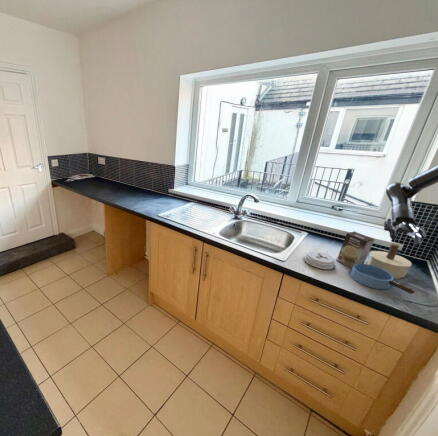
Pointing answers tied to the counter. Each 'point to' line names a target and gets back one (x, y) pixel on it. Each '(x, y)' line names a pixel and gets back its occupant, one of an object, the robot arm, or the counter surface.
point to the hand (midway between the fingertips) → (405, 241)
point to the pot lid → (390, 257)
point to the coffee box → (354, 249)
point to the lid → (320, 259)
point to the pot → (389, 268)
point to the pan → (375, 277)
